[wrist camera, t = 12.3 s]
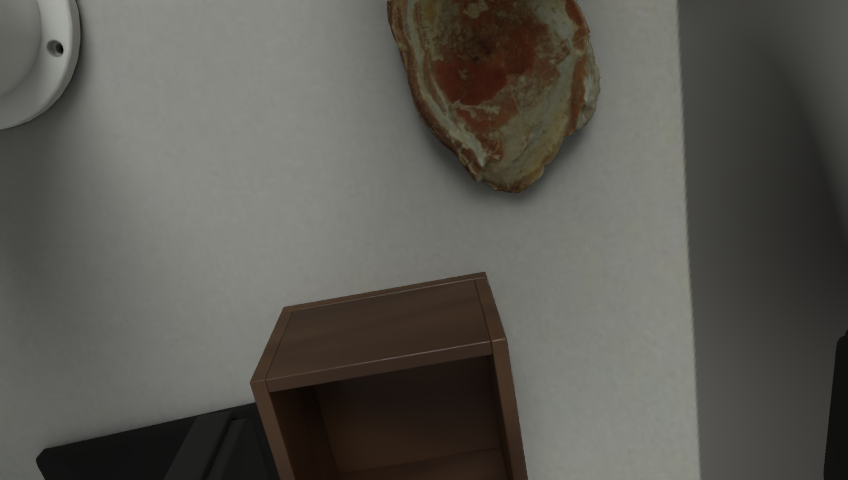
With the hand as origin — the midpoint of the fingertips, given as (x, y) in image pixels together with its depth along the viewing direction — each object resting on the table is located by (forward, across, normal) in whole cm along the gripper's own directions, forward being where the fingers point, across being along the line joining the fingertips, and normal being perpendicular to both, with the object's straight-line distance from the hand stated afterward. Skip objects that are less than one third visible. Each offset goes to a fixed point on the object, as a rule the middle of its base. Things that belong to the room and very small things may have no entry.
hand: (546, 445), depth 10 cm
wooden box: (+27, +5, +16) cm, 32 cm away
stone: (+28, -4, -4) cm, 28 cm away
